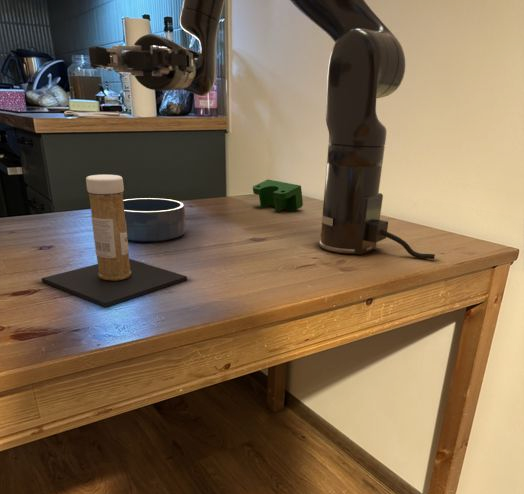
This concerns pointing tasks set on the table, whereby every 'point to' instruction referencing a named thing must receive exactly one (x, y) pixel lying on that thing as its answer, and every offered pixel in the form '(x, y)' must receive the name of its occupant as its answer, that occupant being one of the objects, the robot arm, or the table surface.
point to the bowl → (153, 219)
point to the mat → (113, 283)
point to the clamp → (279, 195)
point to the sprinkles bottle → (109, 226)
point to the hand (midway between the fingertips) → (124, 56)
